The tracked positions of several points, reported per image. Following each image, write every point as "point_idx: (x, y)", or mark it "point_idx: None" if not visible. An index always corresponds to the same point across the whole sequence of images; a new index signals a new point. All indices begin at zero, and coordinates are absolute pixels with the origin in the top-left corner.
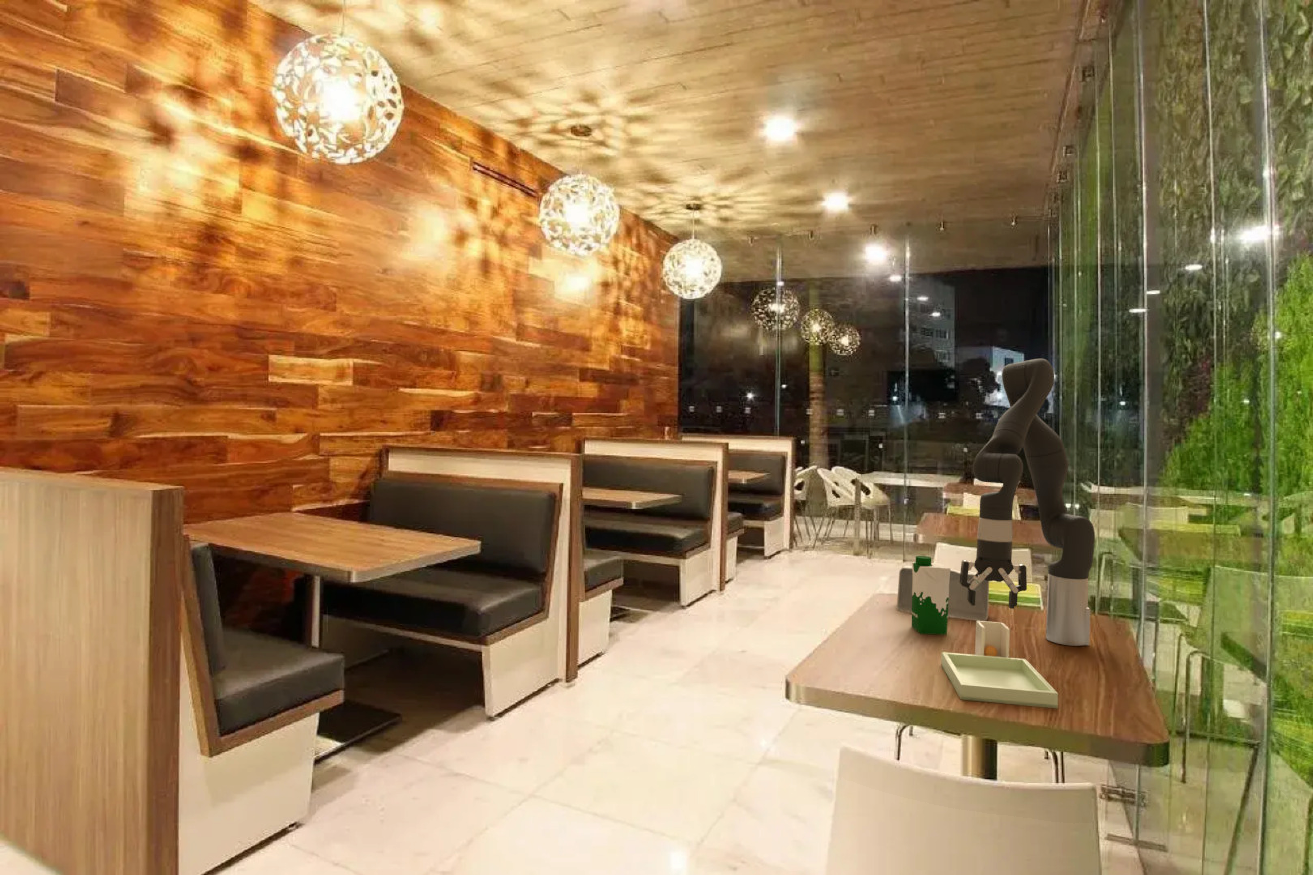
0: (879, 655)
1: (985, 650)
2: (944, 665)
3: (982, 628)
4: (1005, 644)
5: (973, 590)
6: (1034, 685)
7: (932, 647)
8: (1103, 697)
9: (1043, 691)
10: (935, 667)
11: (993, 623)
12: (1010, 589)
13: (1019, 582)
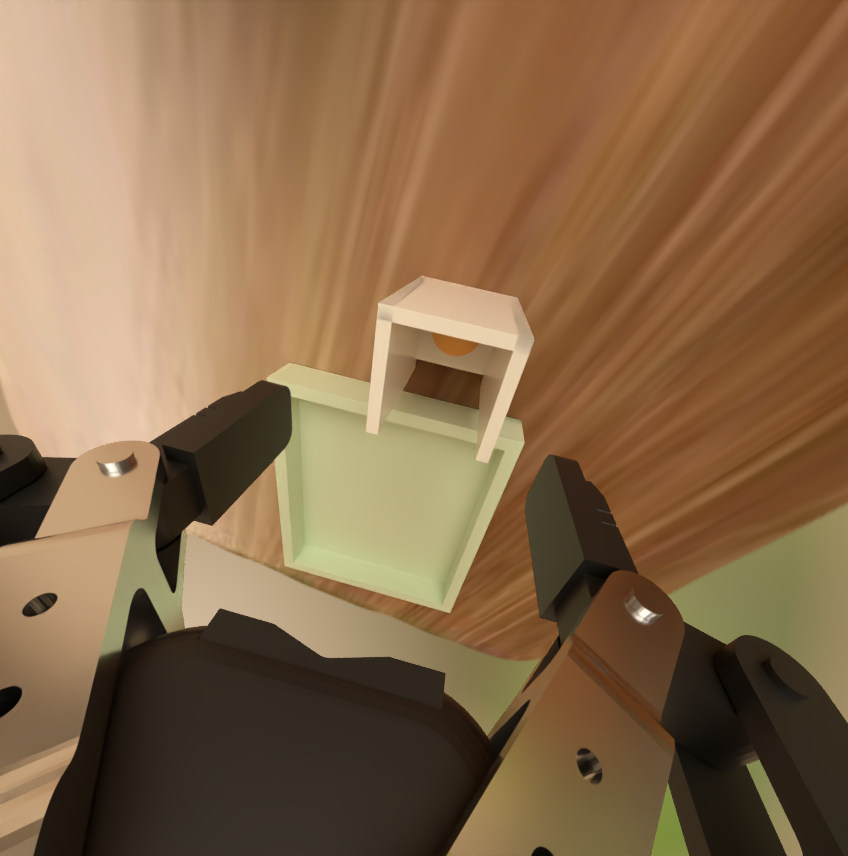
0: (113, 273)
1: (433, 337)
2: None
3: (369, 429)
4: (482, 408)
5: (194, 518)
6: (468, 520)
7: (282, 113)
8: None
9: (426, 604)
10: None
11: (470, 340)
12: (597, 591)
13: (776, 766)
